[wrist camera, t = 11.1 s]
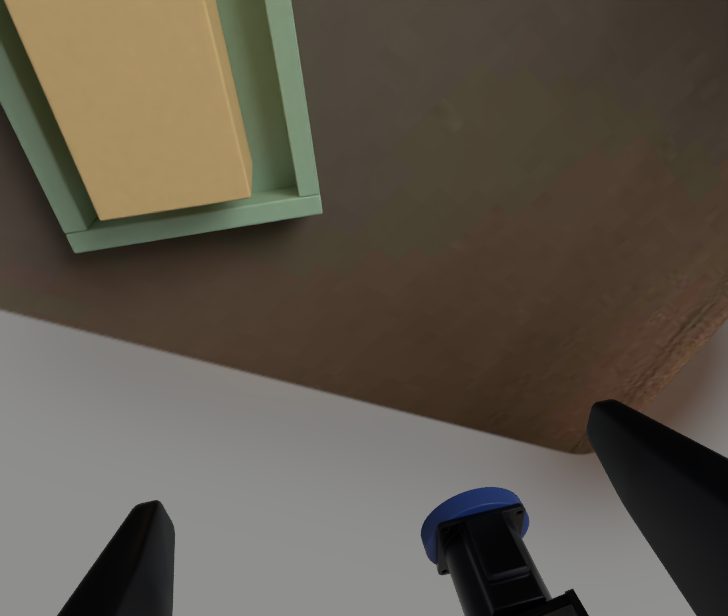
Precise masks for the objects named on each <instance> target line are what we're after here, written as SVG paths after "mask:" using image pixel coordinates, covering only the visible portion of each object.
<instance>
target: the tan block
mask: <svg viewBox="0 0 728 616" xmlns="http://www.w3.org/2000/svg"><path fill="white" fill-rule="evenodd" d="M4 2H5V4H6V6H7V9H8V11H9V13H10V16H11V18H12V20H13V23H14V25H15V27H16V29H17V32H18V34H19V36H20V39H21V41H22V43H23V45H24V48H25V50H26V52H27V55H28V57H29V59H30V62H31V64H32V66H33V68H34V71H35V73H36V75H37V78H38V80H39V82H40V84H41V87H42V89H43V91H44V94H45V96H46V98H47V100H48V103H49V105H50V107H51V110H52V112H53V114H54V117H55V119H56V121H57V123H58V126H59V128H60V130H61V133H62V135H63V137H64V139H65V142H66V144H67V146H68V149H69V151H70V153H71V156H72V158H73V160H74V162H75V165H76V167H77V169H78V172H79V174H80V176H81V178H82V181H83V183H84V185H85V188H86V190H87V192H88V195H89V197H90V199H91V201H92V204H93V206H94V208H95V211H96V213H97V215H98V217H99V219H100V221H106V220H112V219H119V218H125V217H132V216H138V215H144V214H151V213H157V212H164V211H170V210H177V209H183V208H189V207H196V206H202V205H209V204H215V203H222V202H228V201H235V200H241V199H247V198H250V197H251V191H252V158H251V154H250V150H249V145H248V141H247V136H246V132H245V127H244V123H243V118H242V114H241V110H240V105H239V101H238V96H237V92H236V87H235V83H234V79H233V74H232V70H231V65H230V61H229V56H228V52H227V47H226V43H225V39H224V34H223V30H222V25H221V21H220V16H219V12H218V7H217V3H216V0H4Z"/></svg>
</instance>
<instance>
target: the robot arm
mask: <svg viewBox="0 0 728 616" xmlns="http://www.w3.org/2000/svg"><path fill="white" fill-rule="evenodd" d="M587 436H588V439H589V441H590V443H591V445H592V447H593V449H594V450H595V452H596V454H597V456H598V458H599V460H600V461H601V463H602V466H603V467H604V469H605V471H606V473H607V475H608V477H609V479H610V481H611V483H612V484H613V486H614V488H615V490H616V492H617V494H618V496H619V497H620V499H621V501H622V503H623V504H624V506H625V507H626V509H627V511H628V512H629V514H630V516H631V517H632V519H633V520H634V522H635V523H636V525H637V526H638V528H639V529H640V531H641V532H642V534H643V535H644V537H645V538H646V540H647V541H648V543H649V544H650V546H651V547H652V549H653V550H654V552H655V553H656V555H657V557H658V558H659V560H660V561H661V563H662V564H663V566H664V567H665V569H666V570H667V571H668V573H669V574H670V576H671V578H672V579H673V581H674V582H675V584H676V585H677V587H678V588H679V590H680V591H681V593H682V594H683V596H684V597H685V599H686V600H687V602H688V603H689V605H690V606H691V608H692V609H693V611H694V612H695V614H696V615H697V616H728V458H726V457H724V456H722V455H720V454H719V453H717V452H715V451H713V450H711V449H709V448H707V447H705V446H703V445H701V444H699V443H697V442H695V441H694V440H692V439H690V438H688V437H686V436H684V435H682V434H680V433H678V432H676V431H674V430H672V429H670V428H669V427H667V426H664V425H662V424H661V423H659V422H657V421H655V420H653V419H651V418H649V417H647V416H646V415H644V414H642V413H640V412H638V411H636V410H634V409H632V408H630V407H628V406H626V405H624V404H622V403H621V402H619V401H616V400H613V399H609V400H604V401H600V402H596V403H595V404H594V405H593V406H592V409H591V413H590V417H589V421H588V425H587ZM525 512H526V510H525V508H524V506H523V504H522V503H516V504H512V505H508V506H504V507H500V508H496V509H492V510H488V511H484V512H480V513H475V514H471V515H467V516H463V517H459V518H455V519H451V520H447V521H443V522H440V523H439V524H438V525H437V526H436V549H437V570H438V573H439V574H440V575H446V574H451V577H452V580H453V583H454V586H455V589H456V592H457V595H458V598H459V601H460V603H461V606H462V609H463V612H464V615H465V616H589V615H588V614H587V612H586V610H585V608H584V607H583V605H582V603H581V602H580V600H579V598H578V597H577V595H576V593H575V592H574V590H573V589H570V590H568V591H566V592H565V594H563V595H561V596H558V597H556V598H553V599H552V597H551V595H550V593H549V591H548V589H547V587H546V586H545V584H544V582H543V580H542V578H541V576H540V574H539V572H538V570H537V568H536V566H535V564H534V562H533V560H532V558H531V556H530V554H529V552H528V550H527V548H526V546H525V544H524V542H523V540H522V538H521V536H522V530H523V524H524V518H525ZM174 547H175V531H174V526H173V523H172V521H171V519H170V518H169V516H168V514H167V512H166V510H165V509H164V507H163V505H162V504H161V502H160V501H158V500H154V501H150V502H145V503H141V504H138V505H136V506H135V507H134V508H133V509H132V511H131V512H130V514H129V515H128V516H127V518H126V519H125V521H124V522H123V523H122V525H121V526H120V528H119V529H118V530H117V532H116V533H115V535H114V536H113V538H112V539H111V540H110V542H109V543H108V545H107V546H106V547H105V549H104V550H103V552H102V553H101V554H100V556H99V558H98V559H97V560H96V562H95V563H94V564H93V566H92V567H91V569H90V570H89V571H88V573H87V574H86V576H85V577H84V578H83V580H82V581H81V583H80V584H79V586H78V587H77V588H76V590H75V591H74V593H73V594H72V595H71V597H70V598H69V600H68V601H67V603H66V604H65V605H64V607H63V608H62V610H61V611H60V613H59V614H58V615H57V616H172V610H173V581H174Z"/></svg>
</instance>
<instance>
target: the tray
mask: <svg viewBox="0 0 728 616" xmlns="http://www.w3.org/2000/svg"><path fill="white" fill-rule="evenodd" d="M216 3H217V7H218V12H219V16H220V21H221V25H222V30H223V34H224V39H225V43H226V47H227V52H228V56H229V61H230V65H231V70H232V74H233V79H234V83H235V87H236V92H237V96H238V101H239V105H240V110H241V114H242V118H243V123H244V127H245V132H246V136H247V141H248V145H249V150H250V154H251V158H252V191H251V197H250V198H247V199H241V200H235V201H228V202H222V203H215V204H209V205H202V206H196V207H189V208H183V209H177V210H170V211H164V212H157V213H151V214H144V215H138V216H132V217H125V218H119V219H112V220H106V221H100V219H99V217H98V215H97V213H96V211H95V208H94V206H93V204H92V201H91V199H90V197H89V195H88V192H87V190H86V188H85V185H84V183H83V181H82V178H81V176H80V174H79V172H78V169H77V167H76V165H75V162H74V160H73V158H72V156H71V153H70V151H69V149H68V146H67V144H66V142H65V139H64V137H63V135H62V133H61V130H60V128H59V126H58V123H57V121H56V119H55V117H54V114H53V112H52V110H51V107H50V105H49V103H48V100H47V98H46V96H45V94H44V91H43V89H42V87H41V84H40V82H39V80H38V78H37V75H36V73H35V71H34V68H33V66H32V64H31V62H30V59H29V57H28V55H27V52H26V50H25V48H24V45H23V43H22V41H21V39H20V36H19V34H18V32H17V29H16V27H15V25H14V23H13V20H12V18H11V16H10V13H9V11H8V9H7V6H6V4H5V2H4V0H0V103H1V105H2V107H3V109H4V111H5V113H6V115H7V117H8V119H9V121H10V123H11V125H12V127H13V129H14V131H15V133H16V135H17V137H18V139H19V142H20V144H21V146H22V148H23V150H24V152H25V154H26V156H27V158H28V160H29V162H30V164H31V166H32V168H33V170H34V172H35V174H36V176H37V178H38V180H39V182H40V184H41V186H42V189H43V191H44V193H45V195H46V197H47V199H48V201H49V203H50V205H51V207H52V209H53V211H54V213H55V215H56V217H57V219H58V221H59V223H60V225H61V227H62V229H63V231H64V233H67V234H66V237H67V239H68V241H69V243H70V245H71V247H72V249H73V251H74V253H82V252H88V251H94V250H100V249H106V248H113V247H119V246H125V245H131V244H137V243H144V242H150V241H156V240H162V239H168V238H174V237H181V236H187V235H193V234H199V233H205V232H212V231H218V230H224V229H230V228H236V227H243V226H249V225H255V224H261V223H267V222H273V221H280V220H286V219H292V218H298V217H304V216H311V215H317V214H321V213H322V212H323V211H322V204H321V197H320V190H319V183H318V177H317V170H316V163H315V157H314V150H313V143H312V137H311V130H310V123H309V117H308V110H307V104H306V97H305V90H304V84H303V77H302V70H301V64H300V57H299V50H298V44H297V37H296V30H295V24H294V17H293V10H292V4H291V0H216Z"/></svg>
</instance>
